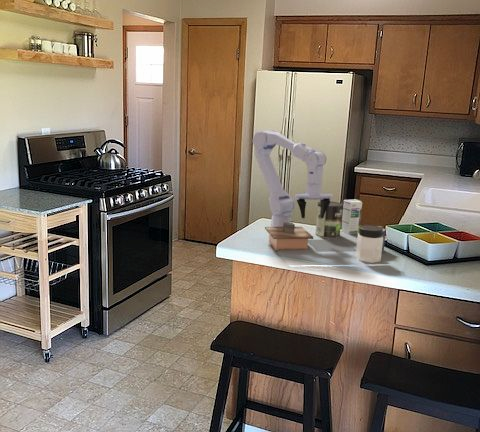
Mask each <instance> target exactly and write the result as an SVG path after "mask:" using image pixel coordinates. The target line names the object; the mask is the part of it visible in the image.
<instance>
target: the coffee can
mask: <svg viewBox="0 0 480 432" xmlns="http://www.w3.org/2000/svg"><path fill="white" fill-rule="evenodd" d="M343 204H344V203H340V202H337V201H332V200H330V204H329V206H328V207H327V209H326V212H325V214H324V218H321V217H320V211H321V202H320V201H318V202H317V210H316V211H317V212H316V213H317V214H316V225H315V236H317V237H319V238H322V239H323V238H324V239H338V238H340V236H341V229H342V217H343Z"/></svg>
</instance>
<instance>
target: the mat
mask: <svg viewBox="0 0 480 432" xmlns="http://www.w3.org/2000/svg"><path fill="white" fill-rule="evenodd" d="M308 245H310V246H311V247H312V248H313V249H314V250H315V251H316V252H320V253H323V252H332V253H333V252H336V253H337V252H356V248H355V247H354V246H352V245H351V244H350V243H348V242H347V241H345V240H344V239H308Z"/></svg>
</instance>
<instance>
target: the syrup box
mask: <svg viewBox="0 0 480 432" xmlns="http://www.w3.org/2000/svg"><path fill="white" fill-rule="evenodd" d="M342 204H343V207H342V217H341V229H340V232H344V233H345V234H347V235H354V234H355V235H356V234H357V235H358V233H359V228H360V226H361V221H362V211H363V210H362V209H363V208H362V207H363V202H362V200H360V199H344V200H343V203H342Z"/></svg>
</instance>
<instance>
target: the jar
mask: <svg viewBox="0 0 480 432" xmlns="http://www.w3.org/2000/svg"><path fill="white" fill-rule="evenodd" d="M383 229H384V228H382V227H381V228H380V227H378V225H376V226H375V225H371V224H369V225H367V224H365V225H360V228H359V233H357V239H356V240H357V241H356V248H355V249H356V251H355V258H356V259H357V260H358V261H361V262H366V263H370V264H374V263H377V262H381V261H382V260H381V259H382V253H383V252H382V245H383V237H382V235H383Z"/></svg>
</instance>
